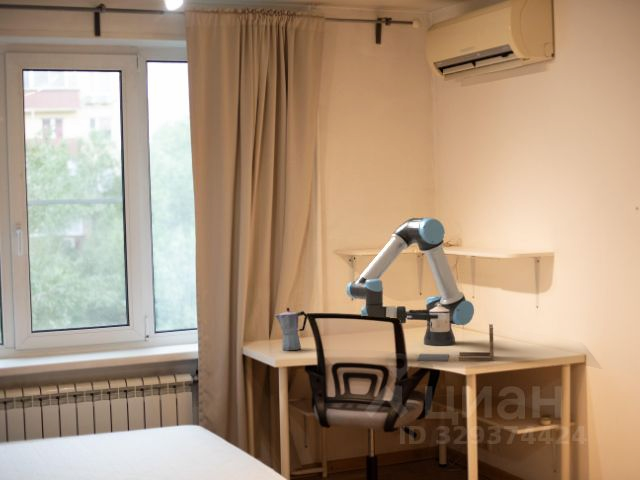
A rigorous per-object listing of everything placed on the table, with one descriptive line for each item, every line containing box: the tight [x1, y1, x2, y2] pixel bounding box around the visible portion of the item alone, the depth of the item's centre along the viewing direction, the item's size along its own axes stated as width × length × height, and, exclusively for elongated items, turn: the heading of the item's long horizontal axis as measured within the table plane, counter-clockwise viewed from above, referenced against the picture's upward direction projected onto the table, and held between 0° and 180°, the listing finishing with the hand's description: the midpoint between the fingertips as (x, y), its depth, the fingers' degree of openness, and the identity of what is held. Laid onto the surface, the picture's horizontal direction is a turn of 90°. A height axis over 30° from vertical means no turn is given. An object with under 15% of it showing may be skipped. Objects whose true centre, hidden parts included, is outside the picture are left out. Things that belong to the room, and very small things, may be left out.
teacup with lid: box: [429, 304, 450, 332], centre depth 374 cm, size 12×9×12 cm
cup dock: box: [458, 323, 495, 362], centre depth 372 cm, size 13×15×14 cm
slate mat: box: [416, 353, 449, 362], centre depth 375 cm, size 14×13×1 cm
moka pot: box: [274, 307, 308, 352], centre depth 409 cm, size 10×15×20 cm, turn 95°
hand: (446, 314), depth 373 cm, fingers closed on teacup with lid, 12 cm apart
